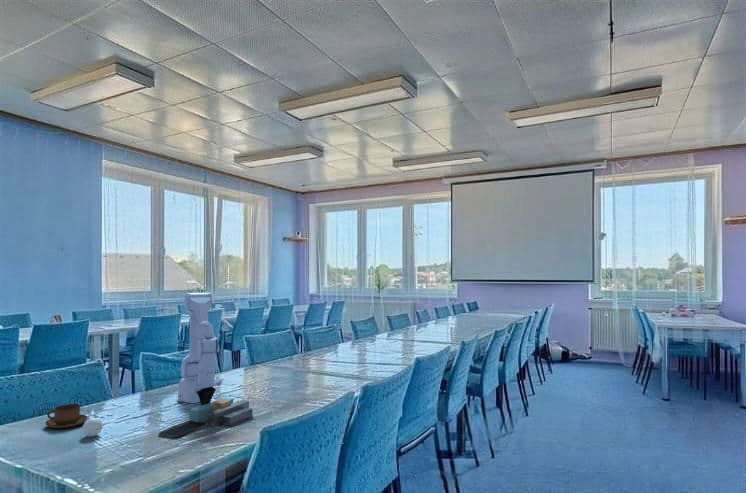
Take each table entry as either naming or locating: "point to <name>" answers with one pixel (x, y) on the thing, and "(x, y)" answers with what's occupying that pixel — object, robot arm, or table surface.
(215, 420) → the vise
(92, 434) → the white rounded piece
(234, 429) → the table surface
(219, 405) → the oak block
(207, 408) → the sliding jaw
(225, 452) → the table surface
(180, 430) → the phone
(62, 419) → the cup and saucer
